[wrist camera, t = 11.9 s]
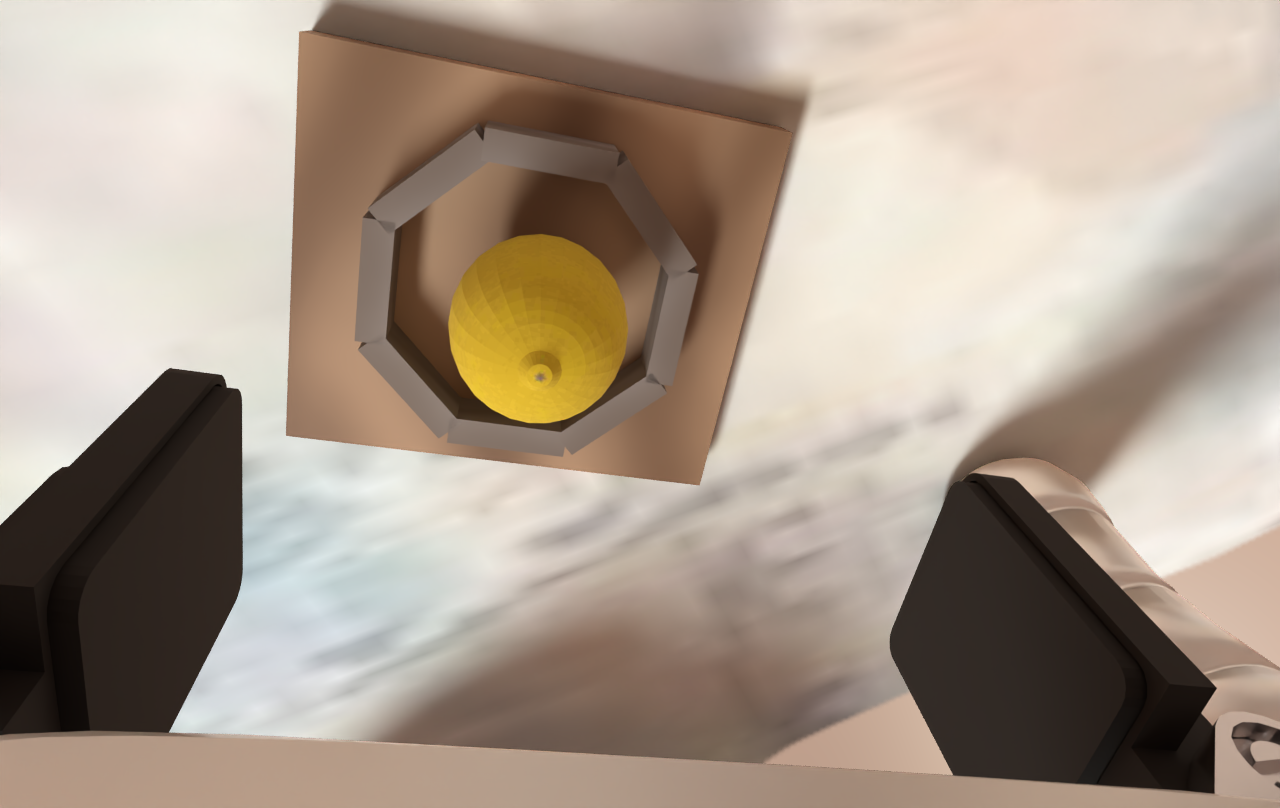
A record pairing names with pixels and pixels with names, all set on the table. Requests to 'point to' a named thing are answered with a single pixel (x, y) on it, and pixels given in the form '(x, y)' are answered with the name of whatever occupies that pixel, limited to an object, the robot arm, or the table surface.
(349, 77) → the holder
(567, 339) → the lemon
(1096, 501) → the plastic bottle
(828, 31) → the table surface
